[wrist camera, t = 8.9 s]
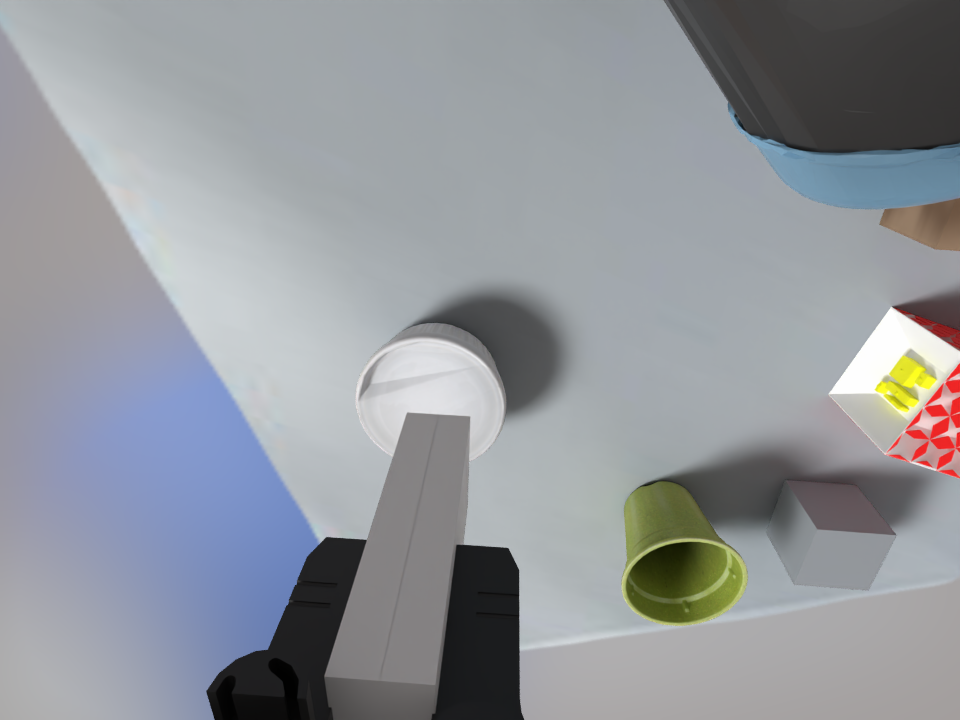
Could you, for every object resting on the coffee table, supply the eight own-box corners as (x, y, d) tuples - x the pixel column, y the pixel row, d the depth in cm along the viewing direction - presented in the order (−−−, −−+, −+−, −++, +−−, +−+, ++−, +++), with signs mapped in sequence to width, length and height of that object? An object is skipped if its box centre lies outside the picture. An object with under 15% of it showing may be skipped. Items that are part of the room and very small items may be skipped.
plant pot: (733, 482, 50) (773, 559, 42) (682, 556, 54) (709, 638, 46) (633, 451, 49) (656, 524, 41) (589, 529, 53) (601, 608, 46)
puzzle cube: (890, 306, 42) (966, 354, 35) (984, 338, 43) (1076, 393, 36) (827, 395, 46) (883, 455, 39) (914, 423, 46) (985, 488, 39)
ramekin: (424, 280, 43) (413, 307, 38) (536, 367, 46) (539, 401, 41) (343, 379, 47) (324, 414, 43) (450, 453, 50) (443, 493, 46)
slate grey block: (784, 479, 50) (817, 529, 44) (855, 484, 49) (896, 535, 44) (765, 531, 52) (793, 584, 47) (832, 536, 52) (868, 590, 47)
